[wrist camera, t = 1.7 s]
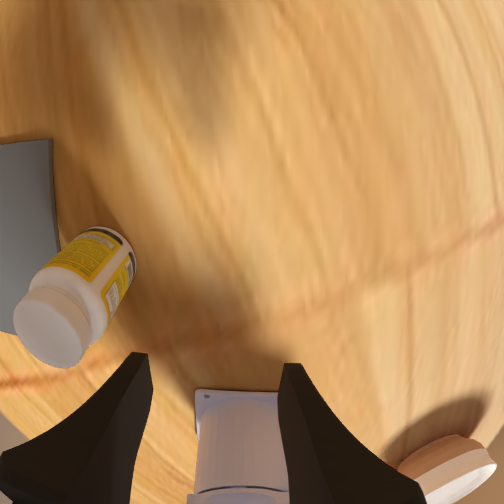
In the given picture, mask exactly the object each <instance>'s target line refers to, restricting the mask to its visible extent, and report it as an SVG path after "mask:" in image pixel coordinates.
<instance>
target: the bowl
mask: <svg viewBox="0 0 504 504" xmlns="http://www.w3.org/2000/svg"><path fill="white" fill-rule="evenodd" d="M496 466H497V463H495V462H494V461H492V460H491V459H490V457H489V454H488V452H487V450H486V449H485V448H484V447H483V446H482V444H481V443H479V442H477V441H475V440H474V439H469V438H464V437H462V436H460V435H458V434H453V435H448V436H445V437H442V438H440V439H437V440H435V441H433V442H431V443H429V444H427V445H425V446H423V447H421V448H420V449H418V450H417V451H415V452H414V453H412V454H411V455H409V456H408V457H407V458H406V459H405V460H403V462H402V463H401V464H400V465H399V466H398V468H397V471H398V472H400V473H402V474H403V475H405V476H407V477H409V478H411V479H413V480H414V481H416V482H418V483H419V485H420V487H421V489H422V491H423V493H424V496H425V499H426V502H427V504H452V503H454V502H456V501H458V500H460V499H461V498H463V497H464V496H466V495H467V494H469V493H470V492H472V491H473V490H474V489H476V488H477V487H478V486H480V485H481V484H482V483H483V482H484V481H486V480H487V479H488V478H489V477H490V476H491V475H492V473H493V472H494V471H495V469H496Z"/></svg>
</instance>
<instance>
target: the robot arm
mask: <svg viewBox="0 0 504 504" xmlns="http://www.w3.org/2000/svg"><path fill="white" fill-rule="evenodd" d="M206 394H207V395H206ZM152 395H153V384H152V378H151V372H150V366H149V359H148V354H146V353H138V352H132V353H130V355H129V356H128V357H127V358H126V359H125V361H124V362H123V363H122V364H121V365H120V366H119V368H118V369H117V370H116V371H115V372H114V373H113V375H112V376H111V377H110V378H109V379H108V380H107V381H106V382H105V383H104V384H103V385H102V386H101V387H100V389H99V390H98V391H97V392H95V393H94V394H93V395H92V396H91V397H90V398H89V399H88V400H87V401H86V402H85V403H84V404H83V405H82V406H81V407H79V408H78V409H77V410H76V411H75V412H73V413H72V414H71V415H70V416H68V417H67V418H66V419H64V420H63V421H61V422H60V423H59V424H57V425H56V426H54V427H53V428H51V429H50V430H48V431H46V432H44V433H43V434H41V435H39V436H37V437H35V438H34V439H32V440H30V441H28V442H26V443H24V444H21V445H19V446H16V447H14V448H12V449H9V450H6V451H3V453H2V454H1V456H0V491H2V492H3V493H4V494H5V495H6V496H7V497H8V498H9V499H11V500H12V501H13V503H12V504H129V503H130V494H131V485H132V478H133V471H134V465H135V461H136V456H137V453H138V449H139V446H140V442H141V439H142V436H143V432H144V429H145V426H146V422H147V419H148V415H149V412H150V406H151V401H152ZM195 409H196V425H197V439H198V451H197V462H196V474H195V485H194V494H187V504H427V502H426V499H425V496H424V493H423V491H422V489H421V487H420V485H419V483H418V482H416V481H414V480H413V479H411V478H409V477H407V476H405V475H403V474H402V473H400V472H398V471H397V470H395V469H394V468H392V467H391V466H389V465H388V464H386V463H385V462H383V461H382V460H381V459H380V458H378V457H377V456H376V455H375V454H373V453H372V452H371V451H370V450H368V449H367V448H366V447H365V446H364V445H363V444H362V443H361V442H360V441H358V440H357V439H356V438H355V437H354V436H353V435H352V434H351V433H350V432H349V430H348V429H347V428H346V427H345V426H344V425H343V424H342V423H341V421H340V420H339V419H338V418H337V417H336V415H335V414H334V413H333V412H332V410H331V409H330V408H329V406H328V405H327V403H326V402H325V401H324V399H323V398H322V396H321V395H320V394H319V392H318V391H317V389H316V387H315V386H314V384H313V383H312V381H311V379H310V378H309V376H308V374H307V373H306V371H305V369H304V367H303V366H302V365H301V363H284V368H283V372H282V377H281V382H280V387H279V391H278V392H240V391H221V390H207V389H198V390H196V391H195Z"/></svg>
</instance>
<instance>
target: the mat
mask: <svg viewBox="0 0 504 504" xmlns="http://www.w3.org/2000/svg"><path fill="white" fill-rule="evenodd" d="M60 251H61V249H60V242H59V235H58V227H57V218H56V208H55V197H54V183H53V161H52V139H43V140H33V141H25V142H17V143H9V144H2V145H0V331H2V332H5V333H9V334H13V335H17V333H16V331H15V327H14V322H13V314H14V310H15V308H16V306H17V305H18V304H19V302H20V301H21V300H22V299H23V298H24V297H25V295H26V294H27V293H28V292H29V286H30V283H31V281H32V279H33V278H34V276H35V275H36V274H37V272H38V271H39V270H41V269H42V268H43V267H44V266H45V265H46V264H47V263H48V262H49V261H50V260H51V259H52V258H53V257H54V256H55V255H56V254H58V253H59V252H60ZM17 336H18V335H17Z"/></svg>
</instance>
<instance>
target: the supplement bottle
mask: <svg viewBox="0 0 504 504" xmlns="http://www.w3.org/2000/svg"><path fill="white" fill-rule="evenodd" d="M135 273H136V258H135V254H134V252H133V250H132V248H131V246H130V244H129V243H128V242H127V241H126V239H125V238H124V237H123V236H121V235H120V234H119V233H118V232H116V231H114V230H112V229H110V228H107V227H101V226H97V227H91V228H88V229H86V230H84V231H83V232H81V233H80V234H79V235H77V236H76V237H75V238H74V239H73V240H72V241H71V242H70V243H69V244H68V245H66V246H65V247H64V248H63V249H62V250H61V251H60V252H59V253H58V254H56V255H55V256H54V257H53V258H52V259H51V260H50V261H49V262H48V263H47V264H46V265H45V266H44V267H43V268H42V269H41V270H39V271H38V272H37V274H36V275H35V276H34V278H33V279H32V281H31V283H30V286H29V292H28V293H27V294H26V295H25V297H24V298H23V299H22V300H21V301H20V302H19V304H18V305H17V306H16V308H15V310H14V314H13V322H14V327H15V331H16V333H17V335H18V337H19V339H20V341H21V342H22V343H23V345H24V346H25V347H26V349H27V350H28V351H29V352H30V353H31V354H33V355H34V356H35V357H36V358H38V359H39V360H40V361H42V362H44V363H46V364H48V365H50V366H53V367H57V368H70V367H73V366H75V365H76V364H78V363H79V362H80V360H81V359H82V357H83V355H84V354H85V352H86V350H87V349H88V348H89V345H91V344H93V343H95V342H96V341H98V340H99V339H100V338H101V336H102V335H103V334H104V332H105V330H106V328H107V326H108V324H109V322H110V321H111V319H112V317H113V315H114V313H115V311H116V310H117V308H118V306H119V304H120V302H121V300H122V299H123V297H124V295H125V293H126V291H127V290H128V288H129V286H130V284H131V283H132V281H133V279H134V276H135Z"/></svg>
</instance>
